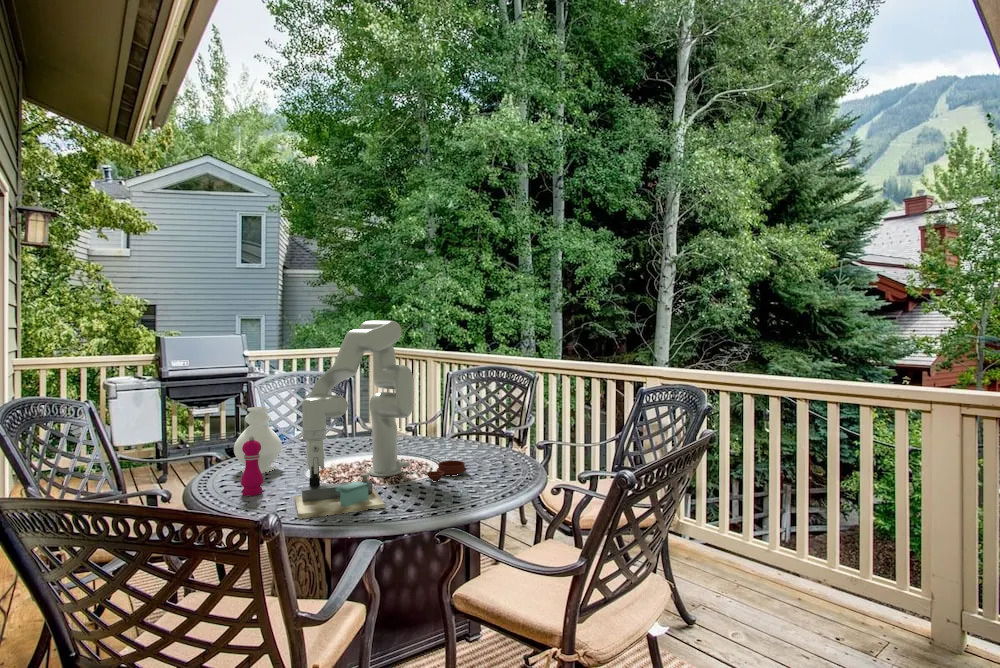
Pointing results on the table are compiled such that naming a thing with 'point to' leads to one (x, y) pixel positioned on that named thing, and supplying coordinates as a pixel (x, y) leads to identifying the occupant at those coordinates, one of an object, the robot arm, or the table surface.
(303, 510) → the base board
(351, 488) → the block
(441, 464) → the pottery
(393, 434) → the robot arm
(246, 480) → the pepper mill
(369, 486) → the link
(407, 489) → the table surface
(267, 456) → the decorative vase
